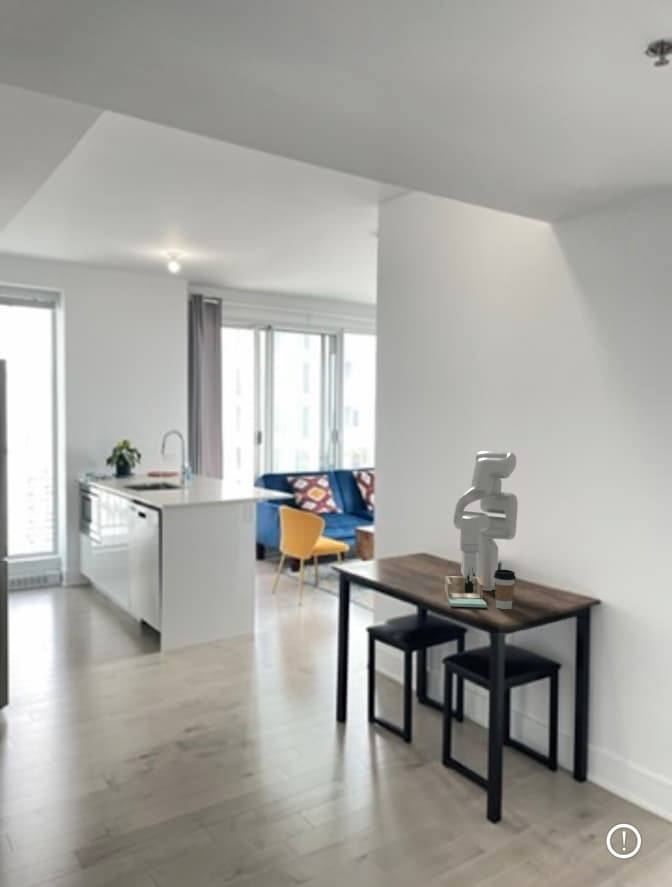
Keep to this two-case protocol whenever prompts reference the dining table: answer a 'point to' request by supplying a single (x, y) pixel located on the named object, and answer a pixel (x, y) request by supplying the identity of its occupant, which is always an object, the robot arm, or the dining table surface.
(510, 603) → the coffee cup
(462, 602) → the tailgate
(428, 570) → the dining table surface
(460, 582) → the crate
